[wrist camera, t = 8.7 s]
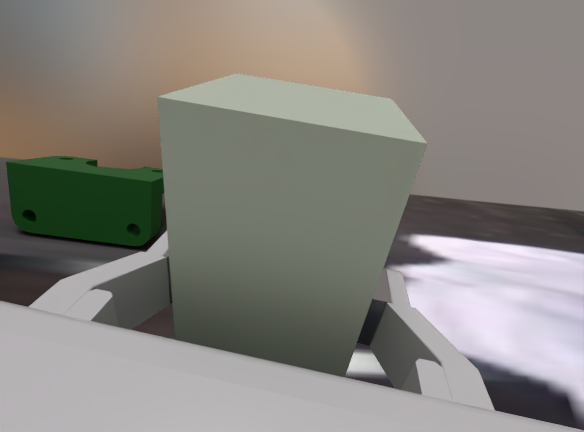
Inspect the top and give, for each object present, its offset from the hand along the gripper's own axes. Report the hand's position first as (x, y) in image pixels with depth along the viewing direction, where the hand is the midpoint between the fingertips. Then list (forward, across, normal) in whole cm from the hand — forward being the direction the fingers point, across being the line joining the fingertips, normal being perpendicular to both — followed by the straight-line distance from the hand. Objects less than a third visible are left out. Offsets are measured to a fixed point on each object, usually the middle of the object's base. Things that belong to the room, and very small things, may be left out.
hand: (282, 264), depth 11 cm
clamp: (+14, +18, +11) cm, 25 cm away
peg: (-1, 0, +6) cm, 7 cm away
